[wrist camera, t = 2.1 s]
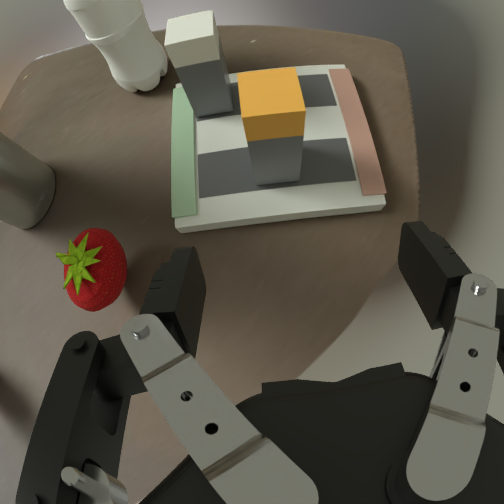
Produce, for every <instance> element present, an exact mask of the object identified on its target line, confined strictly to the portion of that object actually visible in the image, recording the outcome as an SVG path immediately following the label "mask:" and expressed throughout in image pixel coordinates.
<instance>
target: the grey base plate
mask: <svg viewBox="0 0 504 504" xmlns="http://www.w3.org/2000/svg"><path fill="white" fill-rule="evenodd" d="M164 46H165V48H166V50H167V53H168V55H169V57H170V59H171V62H172V64H173V66H174V68H175V71H176V73H177V75H178V77H179V80H180V82H181V83H178V84H176V88H175V89H173V107H172V140H171V205H172V218H175V229H177V230H178V231H179V232H180V233H188V232H196V231H204V230H211V229H219V228H227V227H235V226H243V225H251V224H260V223H268V222H277V221H286V220H294V219H304V218H313V217H322V216H332V215H341V214H351V213H361V212H372V211H381V209H382V208H383V207H384V206H385V205H386V201H385V197H384V194H386V193H387V192H386V188H385V184H384V180H383V176H382V172H381V168H380V164H379V160H378V157H377V153H376V150H375V146H374V143H373V139H372V136H371V133H370V129H369V126H368V123H367V120H366V117H365V114H364V110H363V107H362V105H361V102H360V99H359V96H358V93H357V90H356V87H355V85H354V82H353V79H352V76H351V74H350V71H349V69H346V68H345V65H312V66H296V67H295V68H296V72H297V76H298V80H299V84H300V88H301V92H302V96H303V100H304V104H305V109H306V117H305V128H304V139H303V149H302V160H301V170H300V179H299V181H291V182H282V183H273V184H265V185H257V186H256V182H255V177H254V172H253V167H252V163H251V158H250V154H249V149H248V144H247V140H246V135H245V131H244V126H243V122H242V116H241V107H240V97H239V88H238V78H237V73H232V74H228V70H227V66H226V62H225V58H224V54H223V50H222V46H221V42H220V38H219V34H218V30H217V26H216V22H215V18H214V14H213V10H209V11H204V12H199V13H194V14H189V15H184V16H181V17H176V18H172V19H168V22H167V29H166V37H165V45H164ZM283 68H289V67H283ZM272 69H278V68H272ZM263 70H268V69H263ZM254 71H259V70H254ZM246 72H251V71H246ZM239 73H243V72H239Z"/></svg>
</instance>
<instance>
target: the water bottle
mask: <svg viewBox="0 0 504 504" xmlns="http://www.w3.org/2000/svg"><path fill="white" fill-rule="evenodd" d="M63 1H64V4H65V6H66V8H67V9H68V10H69V11H70V12H71V14H72V15H73V16H74V18H75V19H76V21H77V22H78V24H79V25H80V27H81V28H82V30H83V31H84V33H85V34H86V38H87V39H88V40H89V41H90V42H91V43H93V44H94V45H95V46H96V47H97V48H98V49H99V50H100V51H101V53H102V54H103V56H104V57H105V59H106V61H107V63H108V65H109V67H110V70H111V73H112V76H113V77H114V79H115V80H116V81H117V83H118V84H119V85H120V86H121V87H123V88H124V89H126V90H128V91H130V92H136V91H137V90H138V89H139V90H142V91H149V90H152V89H153V88H155V87H156V86H157V85H158V84H159V81H160V76H165V74H166V73H167V57H166V54H165V52H164V49H163V47H162V46H161V44H160V43H159V42H158V41H157V40H156V39H155V37H154V36H153V34H152V32H151V30H150V28H149V26H148V23H147V20H146V18H145V14H144V9H143V4H142V3H141V2H140V0H63Z"/></svg>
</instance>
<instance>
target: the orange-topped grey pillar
mask: <svg viewBox="0 0 504 504" xmlns="http://www.w3.org/2000/svg"><path fill="white" fill-rule="evenodd" d="M237 78H238V88H239V97H240V107H241V116H242V122H243V126H244V131H245V135H246V140H247V144H248V149H249V154H250V158H251V163H252V167H253V172H254V177H255V182H256V186H257V185H265V184H273V183H282V182H291V181H299V179H300V170H301V160H302V149H303V139H304V128H305V117H306V109H305V104H304V100H303V96H302V92H301V88H300V84H299V80H298V76H297V72H296V68H295V67H289V68H278V69H268V70H259V71H251V72H243V73H237Z"/></svg>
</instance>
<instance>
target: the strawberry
mask: <svg viewBox="0 0 504 504" xmlns="http://www.w3.org/2000/svg"><path fill="white" fill-rule="evenodd" d="M56 255H57V256H56V257H59V259H60V260H61V261H62V263H63V264H64V280H65V284H64V288H63V289H65V288H66V289H67V292H68V295H69V297H70V299H71V300H72V301H73V302H74V304H76V305H77V306H78V307H80V308H82V309H84V310H87V311H94V312H95V311H98V310H101V309H103V308H105V307H107V306H108V305H110V304H112V303H113V302H114V301H115V300H116V299H117V298H118V296H119V295H120V293H121V291H122V289H123V287H124V285H125V282H126V278H127V262H126V256H125V253H124V250H123V248H122V247H121V245H120V243H119V242H118V241H117V239H116V238H115V237H114V235H113V234H112V233H111V232H109V231H107V230H105V229H100V228H90V229H87V230H85V231H83V232H82V233H81V234H79V235H78V236H77V238H76V239H75V240H74V242H73V243H72V242H71V240H70V239H69V250H68V253H67V254H62V253H56Z"/></svg>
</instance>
